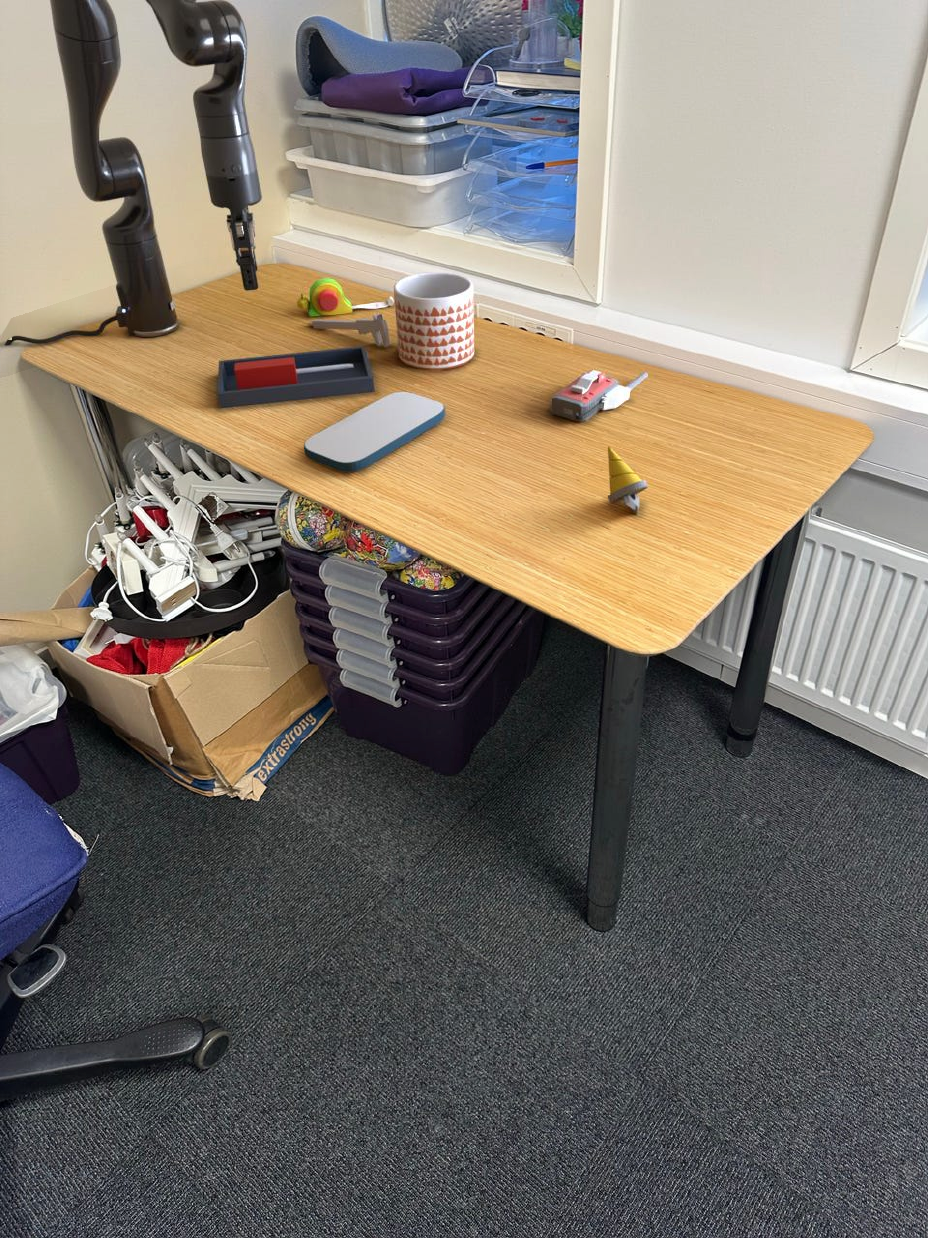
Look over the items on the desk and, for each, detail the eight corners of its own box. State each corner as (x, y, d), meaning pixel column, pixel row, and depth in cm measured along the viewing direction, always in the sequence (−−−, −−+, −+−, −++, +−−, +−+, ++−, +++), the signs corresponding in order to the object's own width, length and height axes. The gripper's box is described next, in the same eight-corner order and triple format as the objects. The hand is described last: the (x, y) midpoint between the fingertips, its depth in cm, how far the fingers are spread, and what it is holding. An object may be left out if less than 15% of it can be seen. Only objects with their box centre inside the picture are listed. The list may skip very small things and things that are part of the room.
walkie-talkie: (592, 430, 134) (651, 383, 146) (594, 404, 131) (654, 358, 144) (543, 416, 138) (604, 371, 150) (544, 390, 135) (607, 346, 148)
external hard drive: (351, 479, 125) (350, 467, 123) (296, 456, 130) (294, 444, 129) (453, 417, 139) (453, 405, 137) (399, 398, 144) (398, 387, 143)
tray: (220, 410, 143) (216, 394, 141) (222, 376, 153) (219, 360, 151) (375, 393, 146) (373, 377, 144) (366, 361, 157) (365, 345, 155)
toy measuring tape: (297, 310, 177) (292, 277, 173) (391, 299, 180) (388, 266, 176) (300, 321, 172) (295, 287, 168) (396, 310, 175) (394, 277, 171)
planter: (458, 375, 151) (456, 302, 143) (386, 366, 155) (380, 294, 146) (484, 345, 160) (483, 275, 152) (416, 337, 164) (412, 268, 156)
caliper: (390, 348, 161) (387, 314, 157) (386, 350, 160) (383, 316, 156) (312, 324, 171) (307, 292, 167) (308, 326, 170) (303, 294, 166)
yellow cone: (612, 524, 115) (583, 455, 116) (627, 521, 120) (599, 454, 120) (648, 507, 112) (617, 436, 113) (661, 504, 117) (632, 437, 117)
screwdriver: (238, 392, 147) (234, 370, 145) (238, 385, 149) (234, 362, 147) (355, 380, 150) (352, 357, 147) (353, 372, 152) (351, 350, 149)
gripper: (206, 158, 132) (227, 268, 143) (203, 181, 121) (226, 298, 132) (256, 155, 133) (273, 264, 144) (257, 177, 122) (276, 293, 133)
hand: (251, 280), depth 138 cm, fingers open, 8 cm apart
